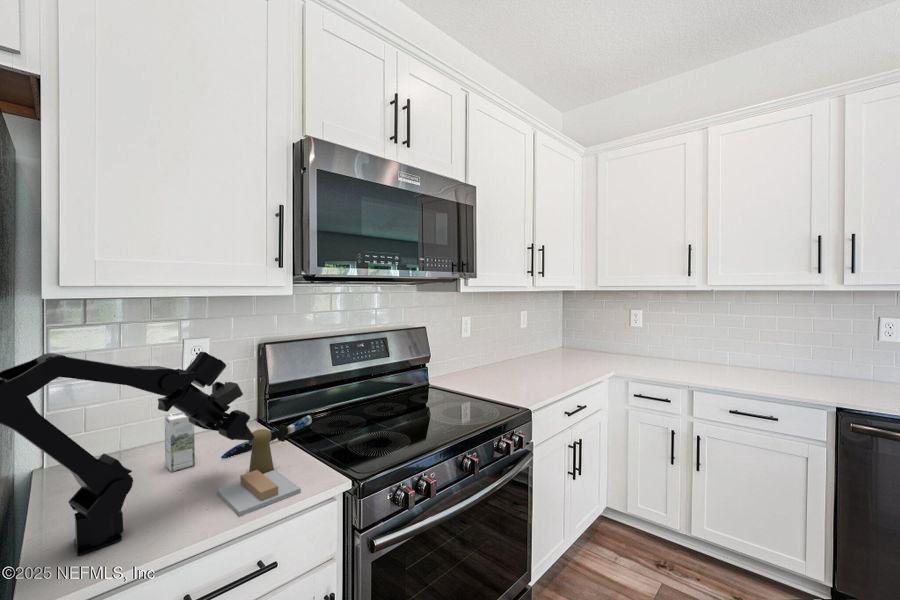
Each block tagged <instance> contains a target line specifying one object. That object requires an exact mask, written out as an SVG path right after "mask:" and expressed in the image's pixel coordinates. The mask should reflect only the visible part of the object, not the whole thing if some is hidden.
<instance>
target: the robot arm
mask: <svg viewBox="0 0 900 600" xmlns="http://www.w3.org/2000/svg"><path fill="white" fill-rule="evenodd" d="M226 368H227V364H226V363H225V362H224V361H223V360H222V359H218V358H217V357H215V356H213V355H212V354H209V353H208V352H206V351H199V352H198V354H196V357H195V358H194V359H193V361H192V362H191V363H190V364H189V365H188V367H187V368H186V369H180V368H177V369H174V368H171V367H170V368H169V367H166V366H161V365H135V366H130V365H128V366H127V365H120V364H114V363H110V362H109V363H108V362H101V361H95V360H91V359H90V360H89V359H83V358H77V357H71V356H66V355H62V354H59V353H55V352H47V353H44V354H42V355H40V356H38V357H36V358H33V359H31V360H29V361H25V362H23V363H20V364H18V365H14V366H12V367H8V368H6V369H3V370H2V371H1V370H0V425H2V426H5V427H8V428H9V429H11V430H13V431H14V432H16V433H17V434H18V435H20V437H21V436H22V438H24V439H25V440H27V441H28V442H29V443H30V444H31V445H33V446H35V447H36V448H37V449H39V450H40V451H42V452H43V453H44V454H46V455H47V456H48V457H50V458H52V459H53V460H54V461H55V462H57V463H59V465H61V466H62V467H63V468H65V469H67V470H68V471H69V472H70V473H71V474H72V476H73V477H74V479H75V480H76V482H77V484H78V485H79V486H80V488H79V489H78V490H77V491H76V492H75V493H74V495H73V496H72V497H71V498H70V499H69V500H68V505H69V506H70V507H71V509H72V510H73V511H75V513H74V531H75V532H74V534H75V535H74V536H75V538H74V539H73V543H74V544H73V545H74V547H75V552H76V555H77V556H82V555H85V554H88V553H90V552H93V551H95V550H99V549H102V548H105V547H107V546H109V545H112V544H114V543H118V542H120V541H122V539H123V537H122V534H123V533H124V514H123V511H122V508H123V506H124V503H125V501H126V497H127V496H128V494H129V492H131V489H132V487H133V483H134V478H133V476H132V475H131V473H132V472H133V470H132V469H130V468H127V467H125V466H123V464H122V463H121V462H120V461H119V460H118V459H117V458H115V457H112V456H111V455H108V454H106V453H105V452H104V453H102V454H101V455H100V456H99V457H98V458H96V456H94V455H92V454H91V453H90V452H88V451H87V450H86V449H85V448H84V447H82V446H81V445H80V444H78V442H76V441H75V440H73V439H72V438H71V437H69V436H68V435H67V434H65V433H64V432H63V431H62V430H60V429H59V428H58V427H57V426H55V425H54V424H53V423H52V422H50V421H49V420H48V419H46V418H45V417H44V416H43V415H41V414H40V413H39V412H38V411H37V409H36V408H35V406H34V404H33V402H32V401H31V399H30V398H29V397H28V396H31V395H32V394H35V393H36V392H38V391H39V390H40V389H42V388H44V387H45V386H46V385H48V384H49V383H50V382H52V381H54V380H56V379H58V378H66V379H67V378H68V379H74V380H75V379H76V380H81V381H82V380H83V381H89V382H90V381H91V382H99V383H106V384H112V385H122V386H128V387H131V388H134V389H138V390H140V391H145V392H148V393H151V394H156V395H158V396H164V397H160V398H158V399H157V401H158V404H157V409H158V410H159V411H162V412H169V411H170V410H171V409H172V408H175V409H176V410H178V411H179V412H183V413H185V415H186V416H187V417H189V422H190V423H192V424H193V425H194V427H198V428H201V429H203V430H207V431H208V430H210V431H216V432H218V434H219V435H220V436H223V438H226V439H229V440H231V441H233V440H234V441H235V440H236V441H252V440H253V439H254V435H253V434H252V433H253V432H252V430H251V429H250V428H249V426H248V424H247V423H248V422H249V421H250V419H251V416H250V415H249V414H248V413H247V412H245V411H242V410H239V409H234V410H231V411H230V413H227V412H228V411H229V409H230V408H231V407H230V406H229V405H231V404H232V403H233V402H234V401H236V400H237V399H239V398H241V397H243V395H244V392H243V391H242V390H241V387H240V385H239V384H238V382H232V381H228V382H227V381H225V382H224V383H223V382H220V381H216V380H217V379H218V378H219V376H220V375H221V374H222V373H223V372H224V370H225V369H226ZM215 381H216V382H215ZM198 387H200V388H203V389H204V388H205V387H211V394H207V393H205V392H204V391H203V390H201V389H200V388H198Z"/></svg>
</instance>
